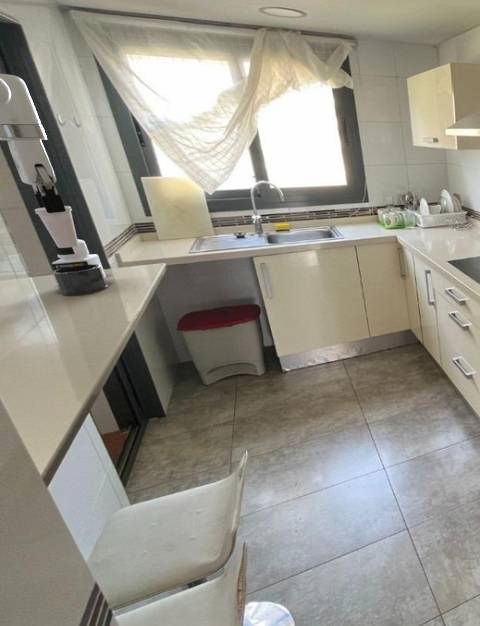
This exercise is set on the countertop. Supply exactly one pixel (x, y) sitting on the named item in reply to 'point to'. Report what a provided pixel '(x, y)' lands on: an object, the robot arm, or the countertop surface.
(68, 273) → the stand
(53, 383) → the countertop surface
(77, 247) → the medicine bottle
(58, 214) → the smoothie
